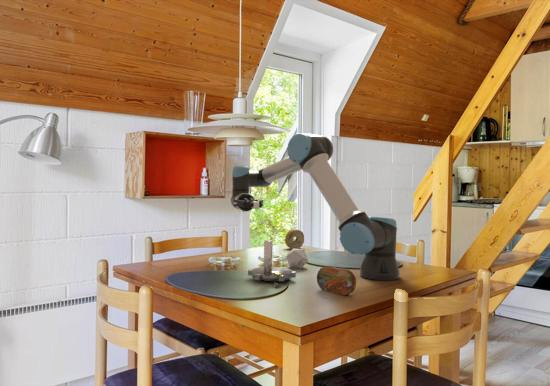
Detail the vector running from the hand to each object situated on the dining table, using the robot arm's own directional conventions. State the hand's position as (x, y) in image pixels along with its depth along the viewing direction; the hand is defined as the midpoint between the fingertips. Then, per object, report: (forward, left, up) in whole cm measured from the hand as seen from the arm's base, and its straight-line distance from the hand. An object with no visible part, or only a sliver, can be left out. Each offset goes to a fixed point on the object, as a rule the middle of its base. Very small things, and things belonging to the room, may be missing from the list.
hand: (257, 205), depth 187 cm
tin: (-38, -2, -27) cm, 47 cm away
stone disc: (+34, -57, -27) cm, 72 cm away
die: (-1, -22, -27) cm, 35 cm away
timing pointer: (-20, +8, -27) cm, 34 cm away
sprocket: (-11, +2, -25) cm, 28 cm away
